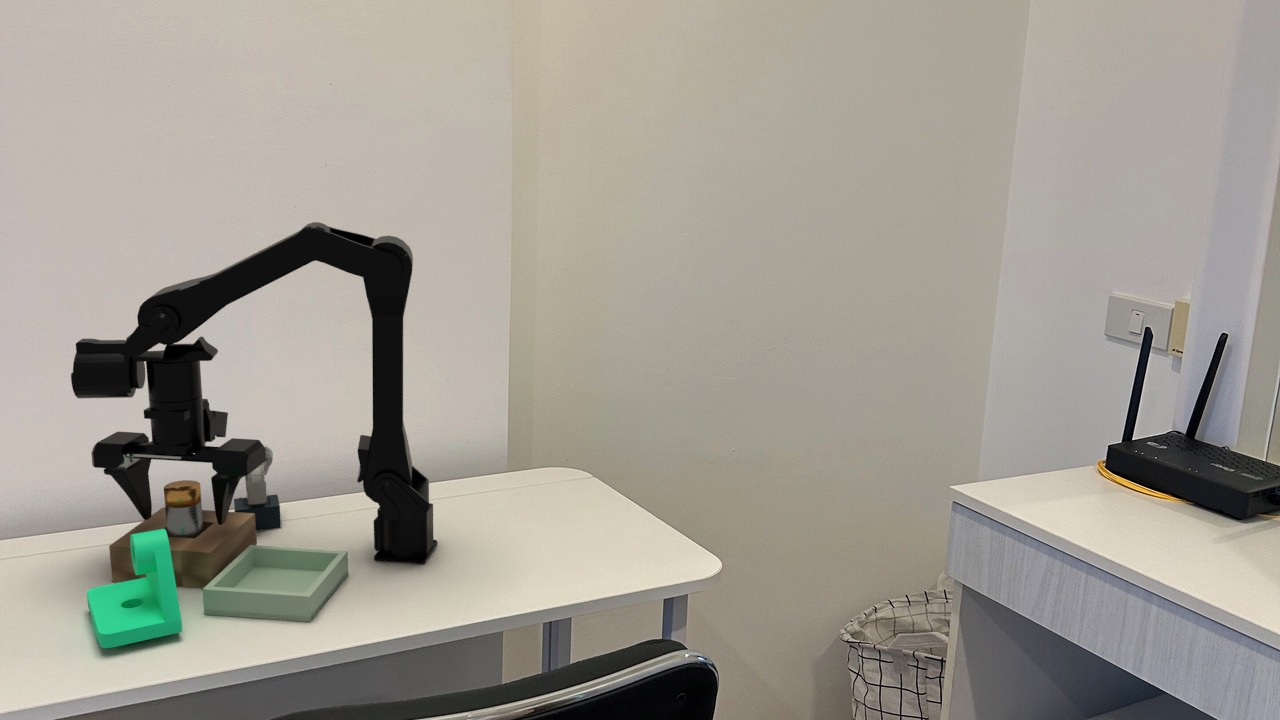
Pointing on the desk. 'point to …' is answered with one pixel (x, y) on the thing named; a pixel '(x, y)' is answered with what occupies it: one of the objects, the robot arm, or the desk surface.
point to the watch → (260, 497)
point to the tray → (276, 583)
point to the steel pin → (183, 509)
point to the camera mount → (138, 596)
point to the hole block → (191, 548)
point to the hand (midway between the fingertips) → (184, 521)
